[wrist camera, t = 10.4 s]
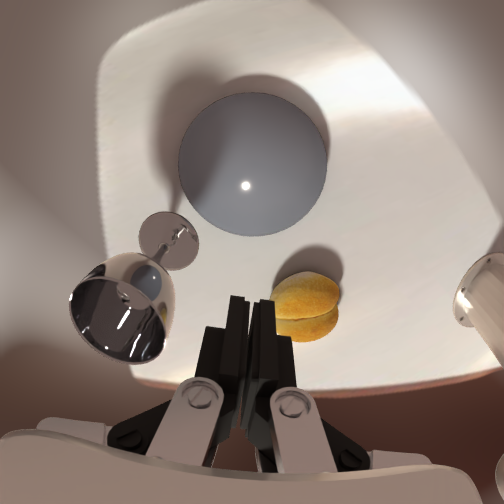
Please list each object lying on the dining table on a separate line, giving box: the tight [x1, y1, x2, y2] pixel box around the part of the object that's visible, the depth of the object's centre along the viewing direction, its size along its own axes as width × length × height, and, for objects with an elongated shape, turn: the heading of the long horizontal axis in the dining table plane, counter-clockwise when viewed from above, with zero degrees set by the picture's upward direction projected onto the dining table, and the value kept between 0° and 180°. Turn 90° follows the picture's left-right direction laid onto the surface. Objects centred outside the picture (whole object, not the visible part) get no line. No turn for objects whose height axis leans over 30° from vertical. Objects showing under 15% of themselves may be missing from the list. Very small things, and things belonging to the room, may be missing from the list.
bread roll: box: [269, 271, 340, 342], centre depth 34 cm, size 8×9×4 cm
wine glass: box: [69, 212, 199, 365], centre depth 27 cm, size 8×8×15 cm
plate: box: [178, 92, 327, 236], centre depth 29 cm, size 14×14×2 cm
